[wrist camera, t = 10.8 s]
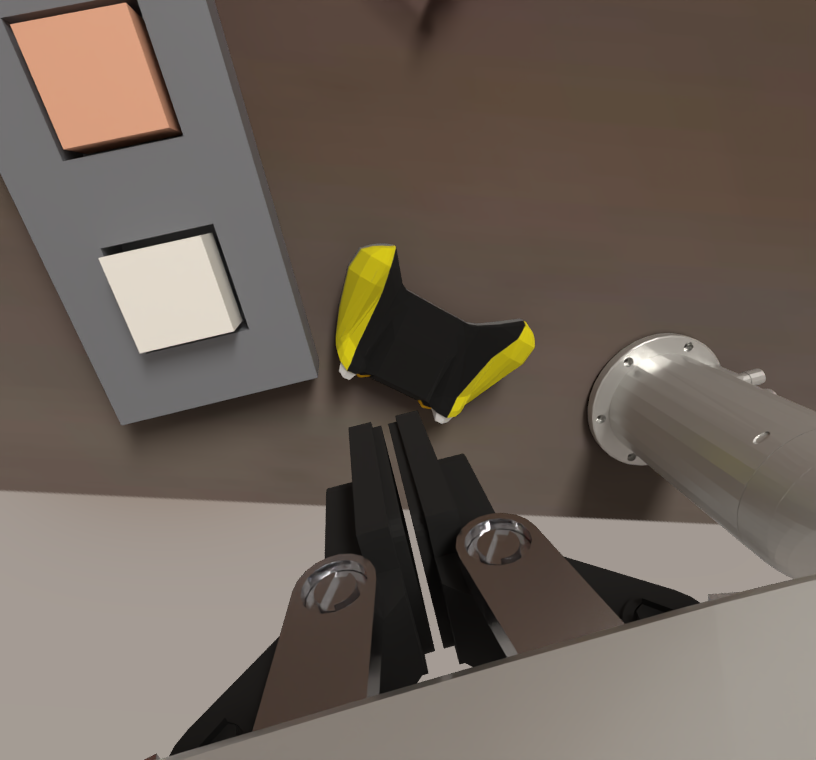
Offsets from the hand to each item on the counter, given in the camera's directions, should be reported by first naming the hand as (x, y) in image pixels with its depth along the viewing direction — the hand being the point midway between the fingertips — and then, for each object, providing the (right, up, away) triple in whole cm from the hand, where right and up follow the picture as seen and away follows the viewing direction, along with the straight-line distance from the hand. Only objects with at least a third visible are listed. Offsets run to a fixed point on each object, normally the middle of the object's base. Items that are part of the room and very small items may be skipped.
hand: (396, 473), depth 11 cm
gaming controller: (+1, +6, +28) cm, 28 cm away
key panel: (-16, +15, +21) cm, 31 cm away
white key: (-15, +8, +21) cm, 27 cm away
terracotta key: (-17, +20, +18) cm, 32 cm away
